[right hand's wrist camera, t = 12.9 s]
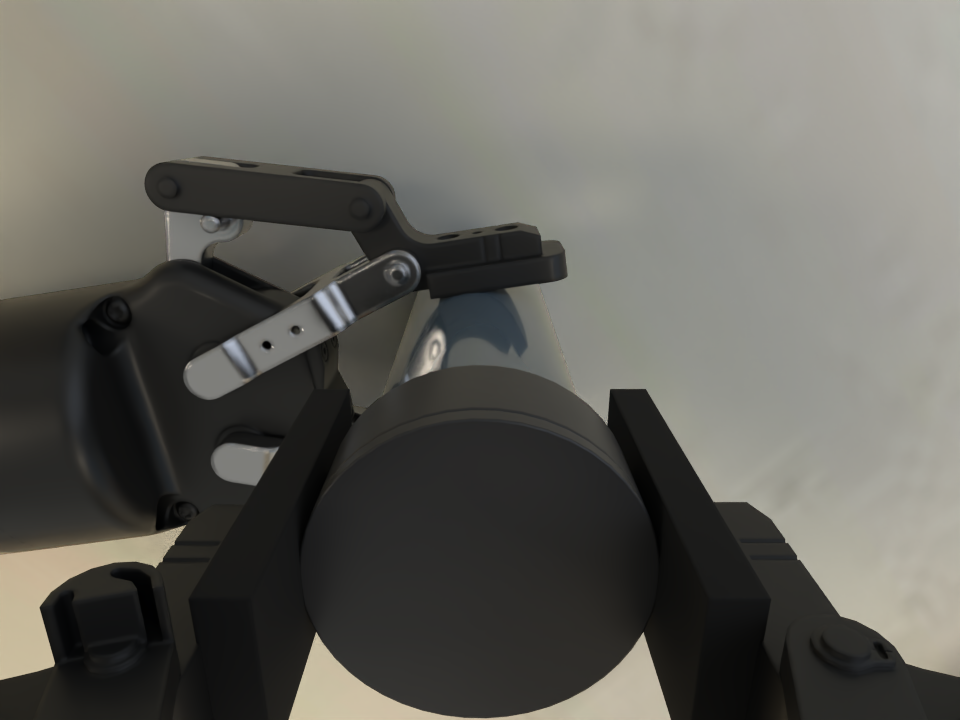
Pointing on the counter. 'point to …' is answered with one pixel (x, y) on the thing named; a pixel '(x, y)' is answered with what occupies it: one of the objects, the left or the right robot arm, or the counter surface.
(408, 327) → the grey cylinder
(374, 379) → the counter surface
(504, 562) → the lid
